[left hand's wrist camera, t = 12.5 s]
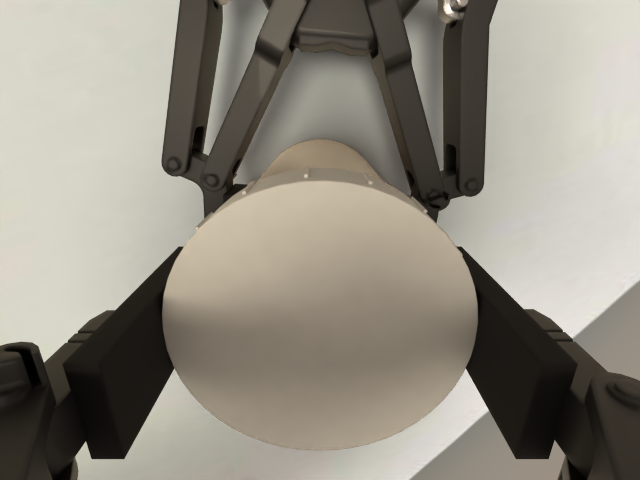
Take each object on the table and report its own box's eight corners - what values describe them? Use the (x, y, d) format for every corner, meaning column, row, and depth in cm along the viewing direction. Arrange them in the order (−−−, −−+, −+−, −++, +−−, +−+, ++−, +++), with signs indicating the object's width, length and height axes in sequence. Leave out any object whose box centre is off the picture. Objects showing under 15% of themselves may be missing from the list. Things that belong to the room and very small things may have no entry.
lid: (211, 124, 10) (187, 129, 8) (504, 213, 11) (541, 235, 9) (166, 372, 13) (141, 416, 12) (398, 425, 14) (410, 475, 12)
